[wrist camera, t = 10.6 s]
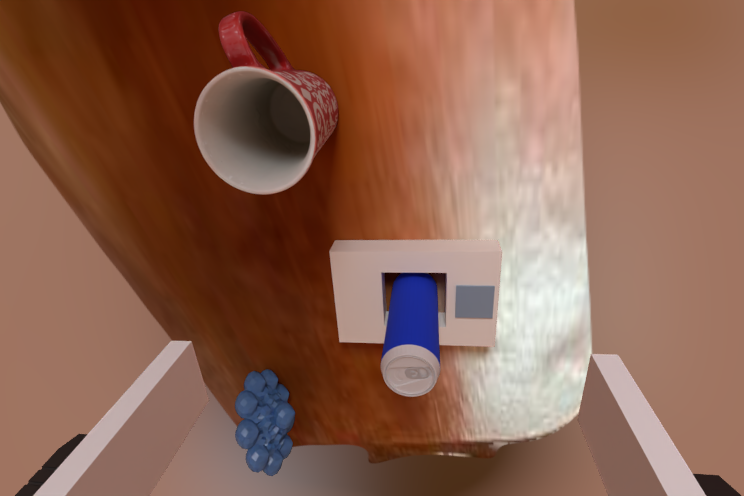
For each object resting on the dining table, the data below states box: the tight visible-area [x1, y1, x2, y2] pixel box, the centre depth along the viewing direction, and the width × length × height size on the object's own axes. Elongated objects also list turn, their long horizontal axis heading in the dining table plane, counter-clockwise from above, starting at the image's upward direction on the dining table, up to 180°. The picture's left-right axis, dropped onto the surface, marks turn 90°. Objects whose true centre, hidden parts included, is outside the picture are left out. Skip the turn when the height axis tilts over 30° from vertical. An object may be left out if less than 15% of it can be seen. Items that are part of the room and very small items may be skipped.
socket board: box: [329, 240, 502, 347], centre depth 47 cm, size 12×18×3 cm, turn 93°
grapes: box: [235, 369, 295, 476], centre depth 52 cm, size 12×7×12 cm, turn 24°
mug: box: [194, 11, 338, 195], centre depth 35 cm, size 13×9×14 cm
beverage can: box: [381, 273, 440, 397], centre depth 42 cm, size 5×5×15 cm
